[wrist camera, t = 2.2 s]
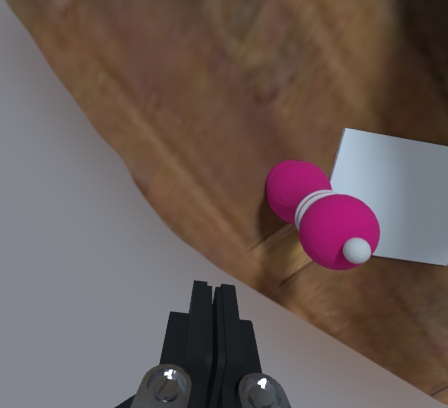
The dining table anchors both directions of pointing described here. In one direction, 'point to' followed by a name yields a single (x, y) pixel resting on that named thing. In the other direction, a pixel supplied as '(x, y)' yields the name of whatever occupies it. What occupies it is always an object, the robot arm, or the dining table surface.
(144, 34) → the dining table surface
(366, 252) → the pepper mill
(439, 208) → the mat
